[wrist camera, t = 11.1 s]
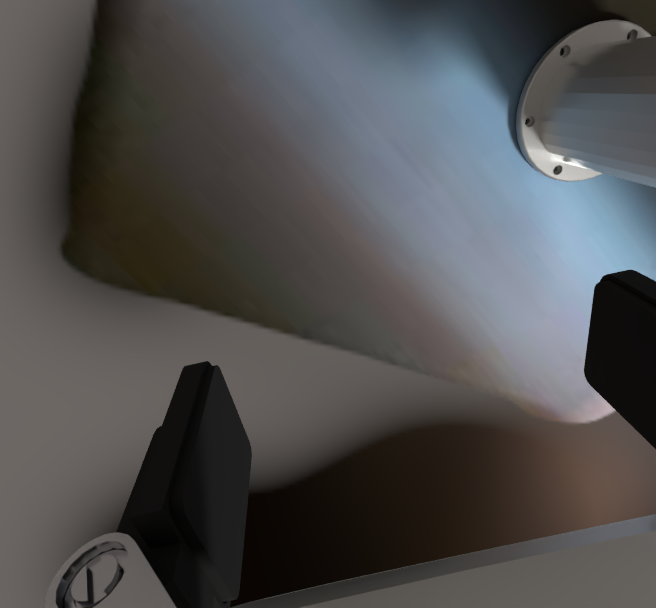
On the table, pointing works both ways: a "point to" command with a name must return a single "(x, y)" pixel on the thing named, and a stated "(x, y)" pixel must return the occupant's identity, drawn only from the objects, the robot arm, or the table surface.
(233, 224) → the table surface
